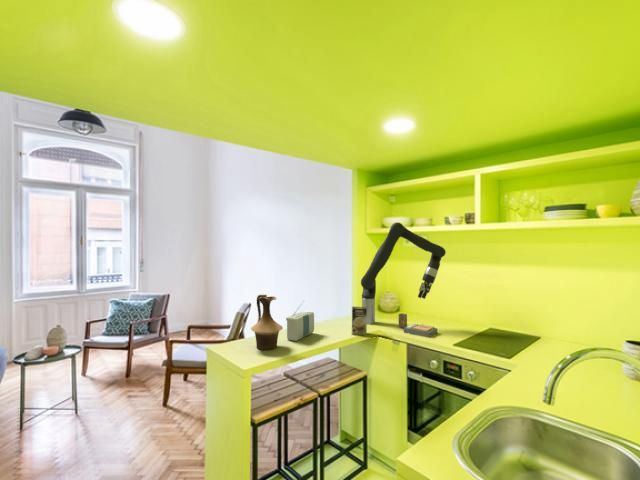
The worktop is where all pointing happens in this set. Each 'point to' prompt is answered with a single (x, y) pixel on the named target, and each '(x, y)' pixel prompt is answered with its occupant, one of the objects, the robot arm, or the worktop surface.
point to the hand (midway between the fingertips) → (421, 297)
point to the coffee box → (359, 321)
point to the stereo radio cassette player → (300, 325)
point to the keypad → (417, 332)
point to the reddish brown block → (402, 320)
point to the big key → (423, 328)
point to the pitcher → (266, 325)
